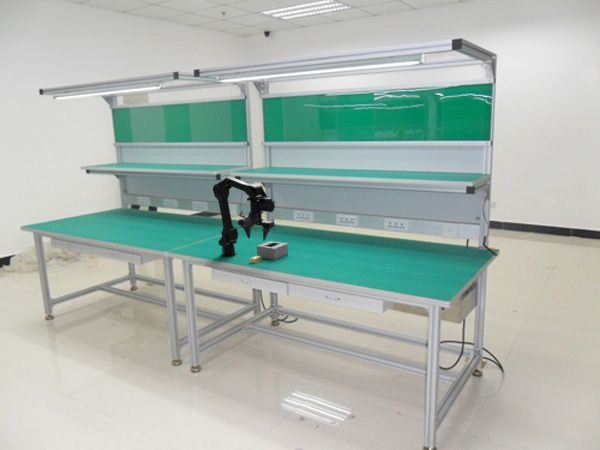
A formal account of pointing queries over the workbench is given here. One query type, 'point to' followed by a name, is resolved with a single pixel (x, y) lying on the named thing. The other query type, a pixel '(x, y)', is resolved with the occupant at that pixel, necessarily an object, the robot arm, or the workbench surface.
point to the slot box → (272, 250)
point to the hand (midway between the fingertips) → (256, 239)
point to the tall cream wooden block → (255, 259)
